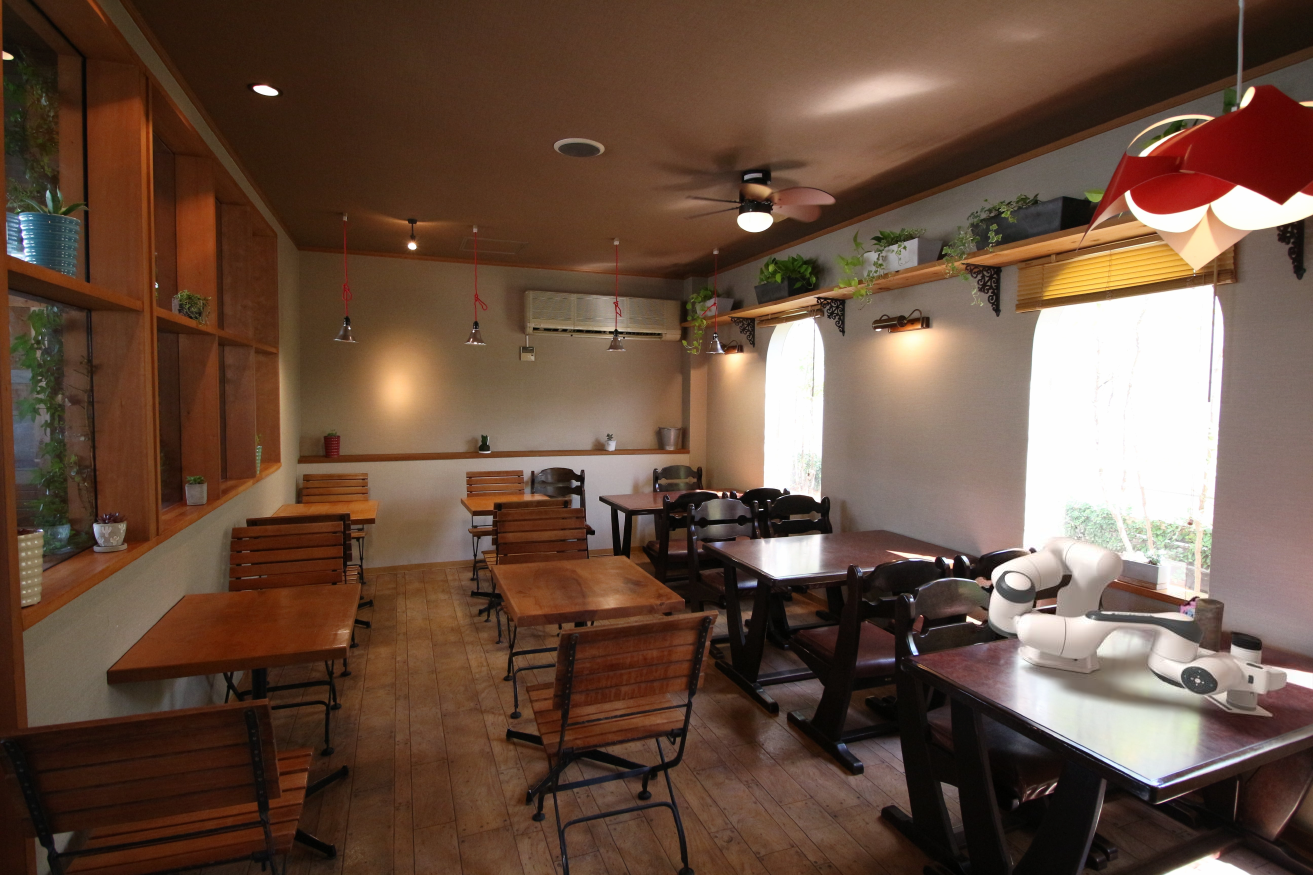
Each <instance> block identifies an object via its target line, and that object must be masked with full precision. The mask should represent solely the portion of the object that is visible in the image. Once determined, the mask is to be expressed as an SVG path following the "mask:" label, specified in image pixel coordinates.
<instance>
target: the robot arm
mask: <svg viewBox="0 0 1313 875" xmlns="http://www.w3.org/2000/svg"><path fill="white" fill-rule="evenodd" d="M1043 544H1044V545H1043V546H1042V549H1040V550H1039V551H1036V552H1033V553H1029V554H1026V555H1023V556H1020V557H1015V558H1013V559H1011V560H1008V561H1006V562H1004V563H1002V564H1000V565H998V566H997V567H995V568H994V569H993V571H992V572H991V576H990V577H991V578H990V579H991V583H992V585H993V587H994V588H993V590H992V592H991V595H990V600H989V601H990V602H989V606H988V612H987V621H988V625H989V627H990V628H991V629H992V630H993V631H994V632H995V633H996V634H999V635H1001V636H1004V637H1007V638H1011V639H1018V640H1019V641H1020V642H1021V643H1022V644H1023V645H1025V646H1020V647H1018V649H1017V653H1018V655H1019V656H1020V657H1021V658H1022V659H1023V660H1025V661H1026V662H1028V663H1030V664H1033V665H1035V666H1038V667H1039V666H1040V667H1045V668H1050V669H1051V668H1052V669H1058V670H1062V671H1064V670H1065V671H1071V672H1078V673H1084V674H1090V673H1091V672H1093V671H1097V670H1099V669H1100V663H1099V657H1098V651H1097V650H1099V648H1100V647H1101V646H1102V644H1103V643H1104V641H1105V640H1107V638H1108V637H1109V635H1111V634H1112V633H1113V632H1115V631H1117V630H1121V629H1130V630H1144V631H1153V637H1152V641H1151V646H1150V649H1149V654H1148V659H1147V666H1148V669H1149V670H1150V672H1152V674H1154V676H1155V677H1156V678H1157V679H1158V680H1160V681H1162V682H1163V683H1166V684H1167V685H1170V686H1173V687H1177V688H1179V689H1183V690H1185V689H1186V690H1188V692H1191V693H1192V694H1195V695H1199V696H1203V695H1205V696H1211V695H1218V694H1221V693H1224V692H1226V691H1228V690H1230V689H1232V690H1243V691H1249V692H1254V693H1258V695H1266V694H1267V693H1268V692H1269V691H1271V692H1273V691H1277V690H1280V689H1283V688H1284V687H1286V685H1287V680H1288V674H1287V672H1285V671H1284V670H1281V669H1276V668H1274V667H1272V666H1271V665H1268V664H1266V663H1265V664H1261V665H1260V664H1256V663H1253V662H1249V661H1246V660H1242V659H1240V658H1238V657H1236V656H1234V655H1232V654H1230V653H1231V652H1225V651H1219V652H1214V651H1210V650H1207V649H1203V648H1200V647H1199V644H1200V643H1201V640H1202V637H1203V634H1204V631H1203V629H1202V627H1201V625H1200V624H1199V623H1198V621H1197V620H1196V619H1195V618H1194V617H1192V616H1189V615H1186V614H1183V613H1180V612H1175V611H1172V612H1171V611H1160V612H1157V611H1156V612H1151V611H1149V612H1148V611H1133V610H1132V611H1130V610H1114V609H1113V610H1111V609H1108V610H1107V609H1105V610H1104V609H1099V607H1100V606H1099V605H1100V600H1101V596H1102V594H1103V593H1104V590H1105V588H1106V587H1107V586H1108V585H1109V584H1111V583H1112V582H1114V581H1116V580H1117V579H1118V578H1119V577H1120V576H1121V575H1122V573H1123V570H1124V562H1123V559H1122V557H1121V556H1120V555H1119V554H1118V553H1117V552H1115V551H1113V550H1111V549H1109V548H1107V547H1105V546H1104V545H1099V544H1095V543H1092V542H1087V541H1083V540H1080V539H1076V538H1072V537H1068V536H1052V537H1050V538H1048V539H1046V541H1045V543H1043ZM1064 575H1071V579H1070V582H1069V583H1068V585H1066V586H1064V587H1060V589H1059V590H1058V592H1057V598H1056V611H1055V613H1054V614H1051V613H1050V614H1049V613H1042V612H1040V611H1039V610H1037V609H1035V608H1033V605H1034V600H1035V598H1036V596H1037V595H1036V594H1037V592H1038V591H1041V590H1044V589H1046V590H1047V589H1049V588H1053V587H1055V586H1058V585H1059V584H1060V583H1061V581H1062V580H1063V576H1064ZM1205 696H1204V697H1205Z"/></svg>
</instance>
